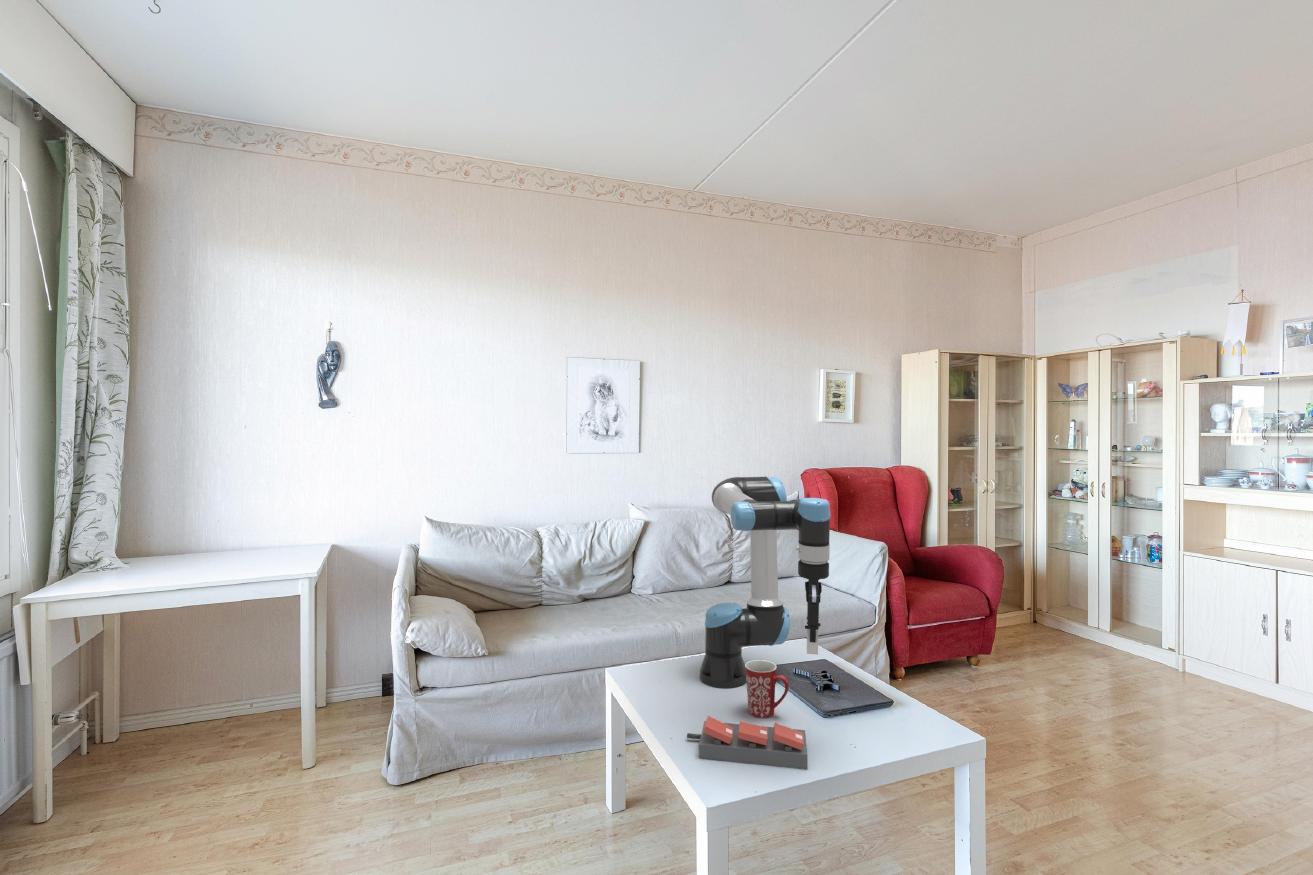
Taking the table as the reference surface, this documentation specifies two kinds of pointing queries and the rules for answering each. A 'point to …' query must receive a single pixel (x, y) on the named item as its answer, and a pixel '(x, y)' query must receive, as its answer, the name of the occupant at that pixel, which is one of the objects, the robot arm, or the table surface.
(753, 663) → the mug
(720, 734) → the rocker
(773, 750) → the power strip
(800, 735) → the block
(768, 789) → the table surface
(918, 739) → the table surface
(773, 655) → the table surface
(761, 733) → the red box
